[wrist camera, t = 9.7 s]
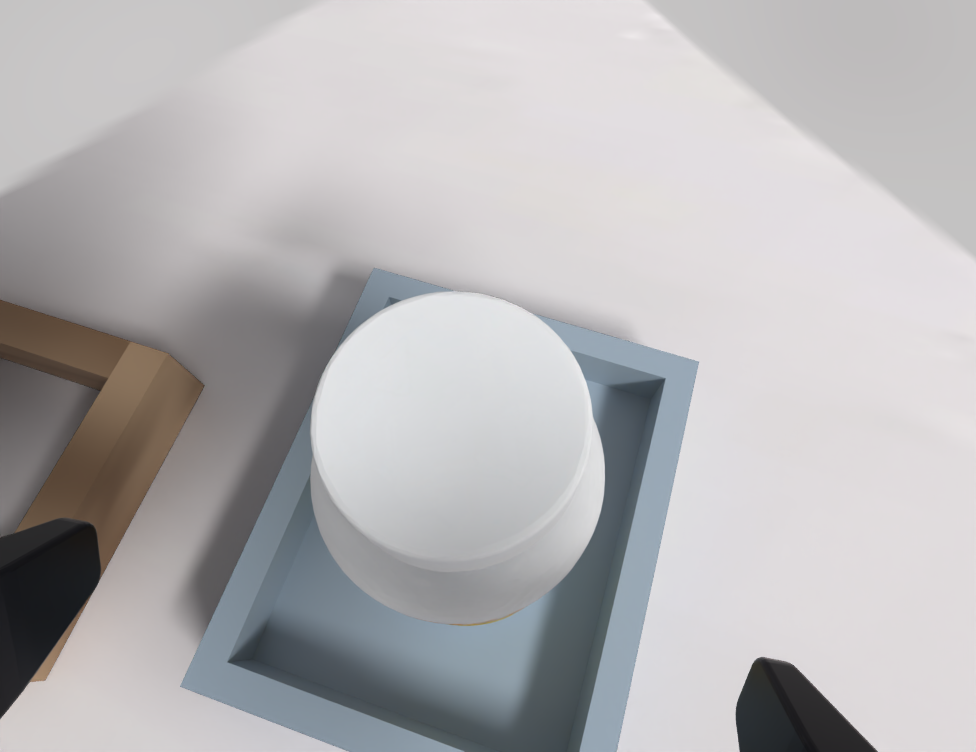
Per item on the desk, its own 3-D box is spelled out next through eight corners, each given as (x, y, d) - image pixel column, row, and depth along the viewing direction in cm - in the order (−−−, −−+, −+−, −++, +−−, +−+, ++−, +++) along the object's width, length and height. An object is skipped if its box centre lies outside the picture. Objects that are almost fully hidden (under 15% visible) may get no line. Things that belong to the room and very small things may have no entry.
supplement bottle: (364, 448, 18) (249, 272, 9) (541, 421, 19) (595, 225, 10) (382, 643, 16) (257, 657, 7) (580, 608, 17) (694, 580, 8)
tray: (579, 814, 16) (596, 846, 13) (221, 678, 17) (180, 686, 14) (673, 392, 20) (698, 361, 18) (385, 307, 21) (374, 267, 19)
